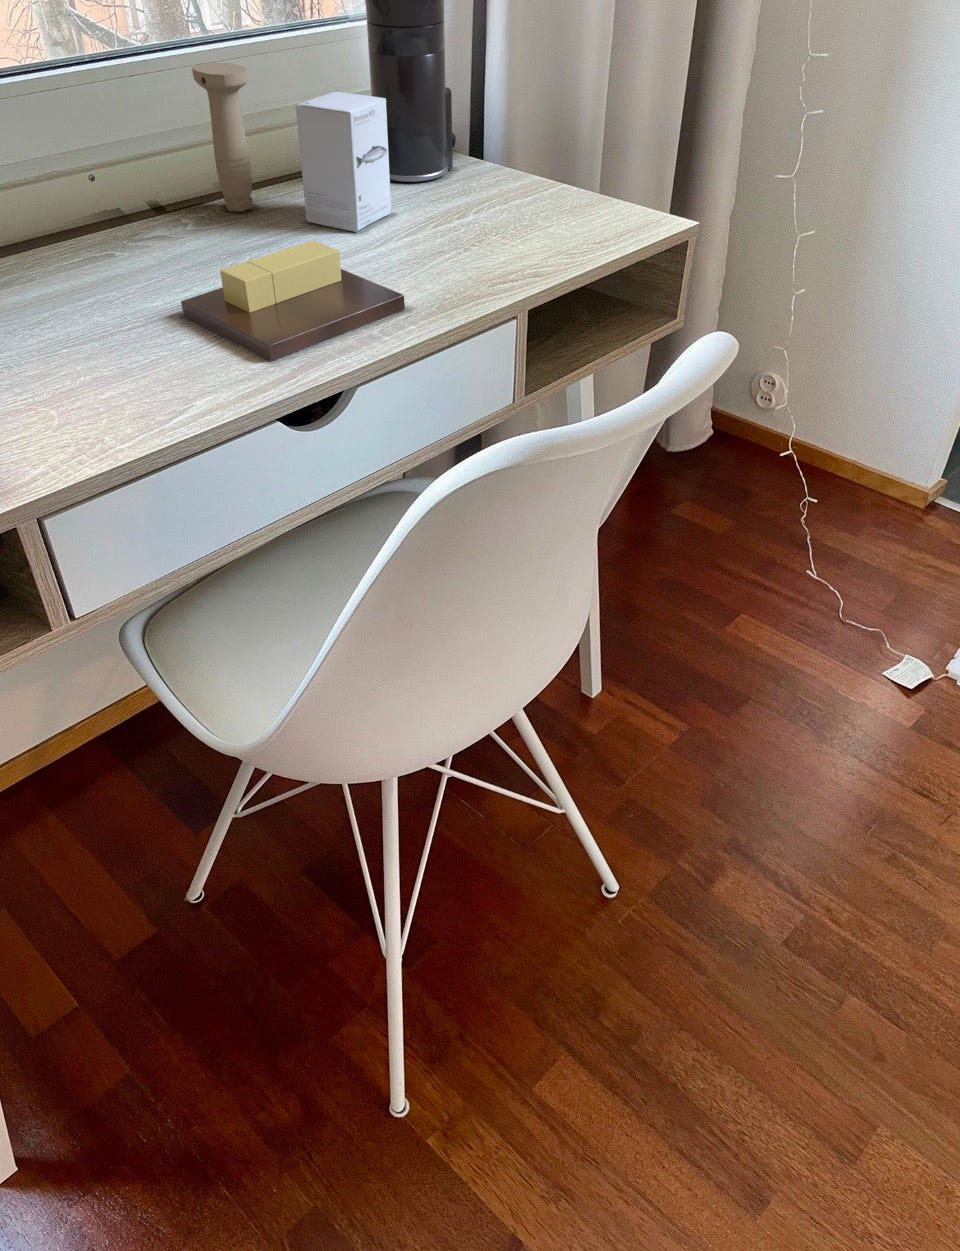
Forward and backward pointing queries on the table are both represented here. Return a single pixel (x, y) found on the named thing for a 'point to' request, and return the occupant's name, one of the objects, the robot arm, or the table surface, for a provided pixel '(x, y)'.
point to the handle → (228, 130)
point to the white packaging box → (344, 159)
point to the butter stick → (301, 269)
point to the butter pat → (247, 287)
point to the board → (296, 315)
